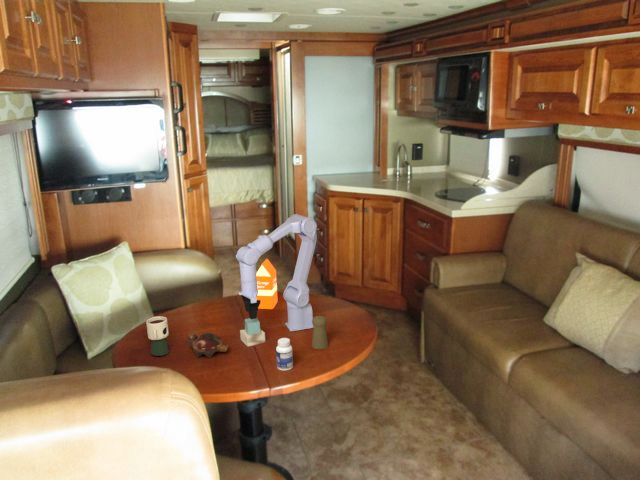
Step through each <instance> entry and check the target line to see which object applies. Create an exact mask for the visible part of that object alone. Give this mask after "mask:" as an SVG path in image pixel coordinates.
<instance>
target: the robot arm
mask: <svg viewBox="0 0 640 480" xmlns="http://www.w3.org/2000/svg"><path fill="white" fill-rule="evenodd" d="M317 228H318V224H317V222H316V221H315V219H314V218H312V217H308V216H305V215H301V214H298V213H295V214H292V215H291V216H289V217H287V219H286V220H285V222H284V223H282V224H281V225H279V226H278V227H277V228H276V229H274V230H273V231H272V232H270V233H269V234H268V235H266V234H262V235H260V234H259V235H258V236H257V238H256V239H255V240H253V241H251V242H249V243H248V244H247V245H246V246H241V247H240V248H239V249H238V250H237V253H236V255H235V258H236V260H237V261H238V263H239V273H240V274H239V275H240V287H241V288H240V290H241V291H238V296H240V297H241V299H242V301H243V304H244V308H245V311H246V312H247V313H248V316H249V318H250V319H256V317H257V316H258V310H259V309H258V307H259V305H260V303H261V301H260V300H257V299H256V297H257V294H258V290H257V276H256V273H257V262H258V261H259V258H260V257H261V256H262V255H264V254H265V253H266V252H268V251H270V250H271V249H272V248H273V246H274V244H275V243H276V242H278V241H279V240H281V239H283V238H285V237H286V236H287V235H289V234H297V236H299V238H300V239H301V243H300V248H299V252H298V256H297V259H296V264H295V268H294V272H293V276H292V280H290V281H289V282H288V283H287V286H286V288H285V289H284V291H283V295H282V296H283V299H284V300H285V301H286V305H287V321H286V322H285V323H284V325H285V327H287V329H288V330H289V332H295V331H301V330H306V329H307V330H308V329H314V326H313V324H312V319H313V318H314V315H313V313H314V312H313V308H312V304H311V303H309V301H310V295H309V294H310V288H309V285H308V278H309V274H310V269H311V266H312V261H313V257H314V252H315V249H316V244H317V242H318V240H317V239H318V235H317ZM257 318H258V317H257Z"/></svg>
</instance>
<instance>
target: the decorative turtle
mask: <svg viewBox="0 0 640 480" xmlns="http://www.w3.org/2000/svg"><path fill="white" fill-rule="evenodd" d="M185 340H186V343H187V344H188V345H189V347H191V348H192V350H193V353H194V354H195V356H196V358H201V357H202V356H203V355H205V356H206V357H207V358H208V359H211V358H213V356H214V354H215V353H216V352H217V353H219V352H220V353H222V352H223V353H225V352H227V351H228V350H229V344H228V343H226V342H224V340H223V339H222V337H220V336H219V335H218V334H215V333H212V332H211V333H209V332H207V333H202V334H201V335H200V336H199V337H198V335H197V334H196V333H189V334H187V336H186V338H185Z"/></svg>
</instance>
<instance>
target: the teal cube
mask: <svg viewBox="0 0 640 480" xmlns="http://www.w3.org/2000/svg"><path fill="white" fill-rule="evenodd" d="M260 324H261V323H260V321H259V319H258V317H256V319H250V317H249V318H244V329H245V331H246V332H247V334H248V335H252V334H258V333H260V329H261V325H260Z"/></svg>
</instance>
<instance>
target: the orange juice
mask: <svg viewBox="0 0 640 480" xmlns="http://www.w3.org/2000/svg"><path fill="white" fill-rule="evenodd" d="M256 276H257V290H258V294H257V297H256V299H257V300H260V301H261V303H260V305H259V307H258V310H260V309H261V310H262V309H263V310H264V309H265V310H273V309H274V308H275V307H276V305H277V303H278V300H279V299H278V284H277V281H278V280H277V269H276V268H275V267H274V266H273V264H272V263H271V262H270V260H269V259H268V258H266V259H265V260H264V261H263V262H262V263H261V266H260V267H259V268H258V270H256Z"/></svg>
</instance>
